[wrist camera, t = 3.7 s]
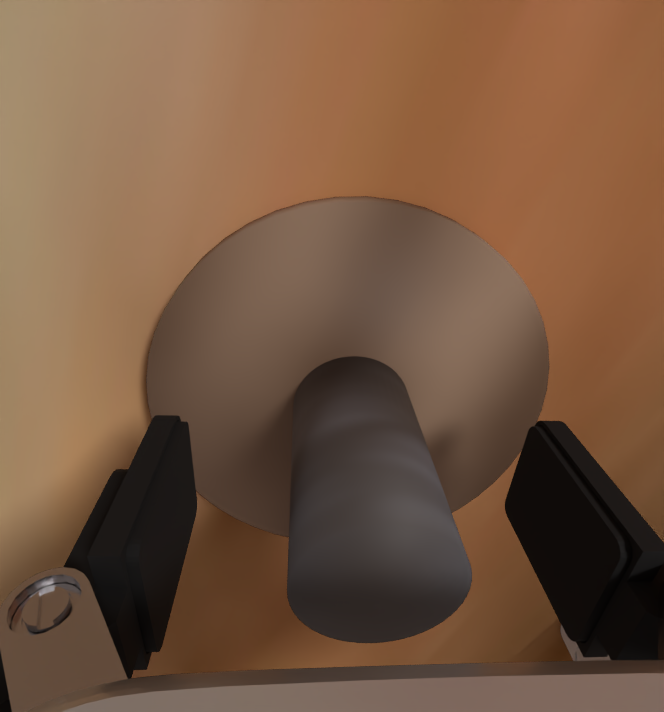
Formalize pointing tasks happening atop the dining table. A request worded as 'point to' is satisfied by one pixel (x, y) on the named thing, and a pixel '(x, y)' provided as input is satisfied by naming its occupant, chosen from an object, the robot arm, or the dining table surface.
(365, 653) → the dining table surface
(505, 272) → the lid
